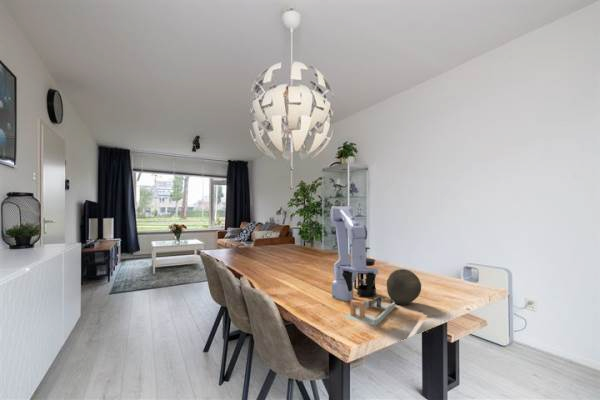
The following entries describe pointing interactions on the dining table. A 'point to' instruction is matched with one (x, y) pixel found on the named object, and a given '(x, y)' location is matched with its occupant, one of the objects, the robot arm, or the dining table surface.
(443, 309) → the dining table surface
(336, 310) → the dining table surface
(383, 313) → the grey base plate
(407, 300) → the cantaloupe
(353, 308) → the peach u-shaped bracket
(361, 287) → the french press
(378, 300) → the hook arm
